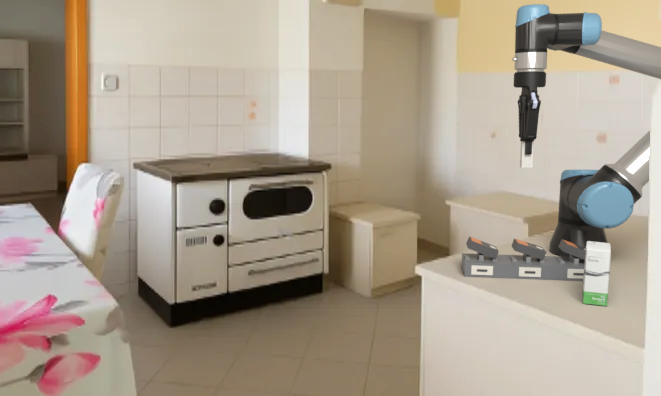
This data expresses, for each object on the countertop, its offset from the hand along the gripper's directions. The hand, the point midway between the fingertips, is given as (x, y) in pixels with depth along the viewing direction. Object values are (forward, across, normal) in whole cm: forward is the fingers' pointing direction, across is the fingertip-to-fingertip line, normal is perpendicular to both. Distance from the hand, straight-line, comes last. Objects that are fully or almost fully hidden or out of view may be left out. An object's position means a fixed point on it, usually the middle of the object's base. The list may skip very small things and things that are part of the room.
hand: (526, 167), depth 157 cm
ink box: (+25, +28, +9) cm, 38 cm away
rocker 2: (+20, +9, -1) cm, 22 cm away
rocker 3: (+20, +10, +10) cm, 24 cm away
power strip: (+25, +9, -1) cm, 26 cm away
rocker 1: (+20, +8, -12) cm, 24 cm away
